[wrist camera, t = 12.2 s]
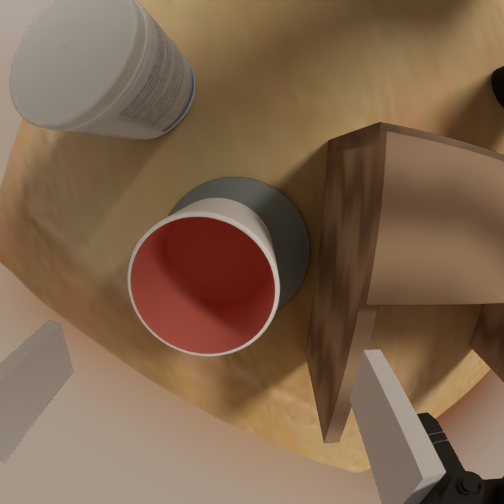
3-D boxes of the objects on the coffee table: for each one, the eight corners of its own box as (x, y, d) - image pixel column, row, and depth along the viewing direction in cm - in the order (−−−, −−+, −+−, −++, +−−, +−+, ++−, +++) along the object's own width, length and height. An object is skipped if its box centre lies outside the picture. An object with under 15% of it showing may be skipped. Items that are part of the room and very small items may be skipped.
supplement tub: (179, 35, 24) (123, -46, 10) (212, 116, 27) (166, 69, 12) (95, 79, 25) (0, 40, 11) (121, 158, 28) (21, 160, 14)
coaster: (163, 175, 28) (161, 175, 28) (315, 182, 28) (316, 182, 27) (165, 312, 32) (164, 315, 31) (300, 321, 32) (301, 324, 31)
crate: (328, 140, 27) (387, 119, 13) (512, 178, 27) (598, 194, 13) (305, 353, 33) (325, 452, 19) (475, 345, 32) (532, 406, 19)
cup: (165, 196, 28) (121, 211, 18) (275, 197, 28) (284, 213, 18) (169, 297, 31) (135, 350, 21) (270, 301, 30) (275, 360, 21)
